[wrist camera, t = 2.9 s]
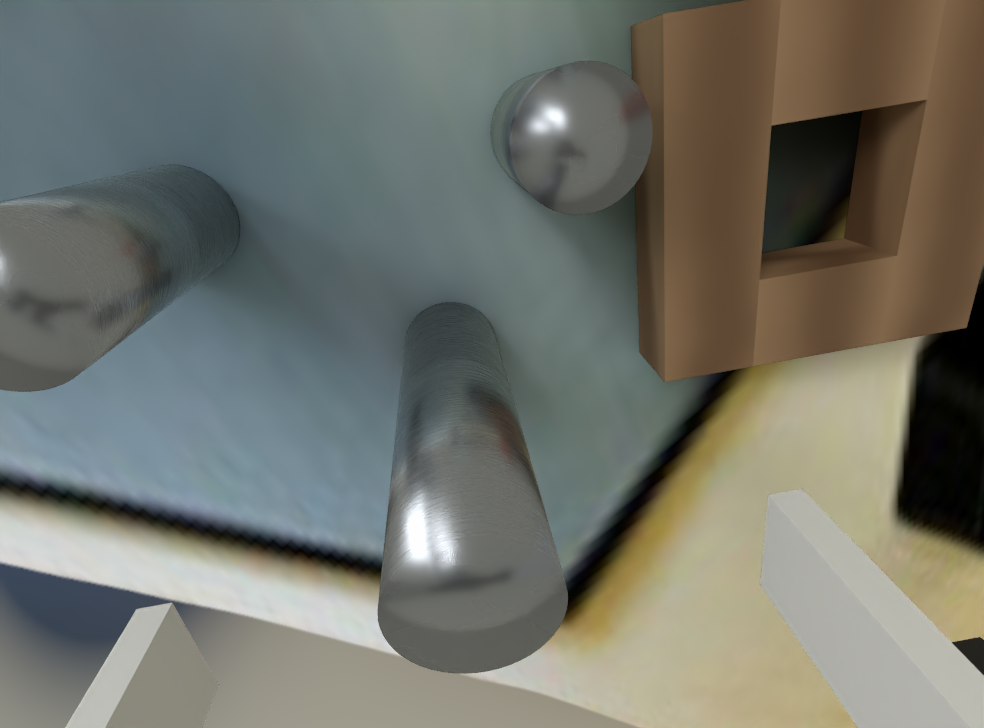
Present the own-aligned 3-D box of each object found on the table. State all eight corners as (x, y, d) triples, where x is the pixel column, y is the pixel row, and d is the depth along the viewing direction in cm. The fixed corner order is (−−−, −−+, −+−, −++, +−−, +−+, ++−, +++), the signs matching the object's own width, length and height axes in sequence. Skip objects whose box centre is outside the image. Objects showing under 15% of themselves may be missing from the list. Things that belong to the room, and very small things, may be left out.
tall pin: (415, 392, 25) (401, 688, 12) (395, 311, 23) (356, 558, 10) (501, 376, 25) (575, 654, 12) (488, 294, 23) (559, 521, 11)
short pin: (498, 194, 21) (521, 225, 16) (483, 81, 20) (503, 73, 14) (597, 178, 22) (653, 202, 16) (590, 64, 20) (651, 49, 14)
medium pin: (153, 279, 21) (-46, 405, 12) (107, 174, 20) (-163, 232, 11) (254, 262, 22) (129, 374, 13) (217, 156, 20) (42, 199, 11)
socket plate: (639, 352, 25) (664, 382, 22) (630, 26, 19) (663, 13, 17) (909, 303, 25) (966, 327, 23) (979, -30, 20) (1065, -51, 17)
